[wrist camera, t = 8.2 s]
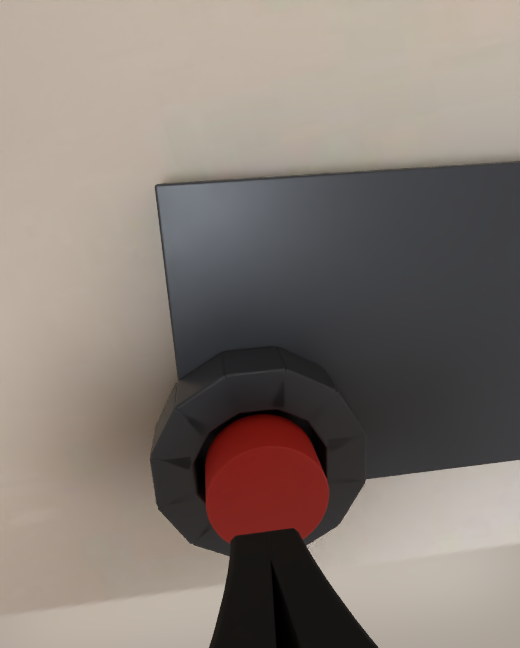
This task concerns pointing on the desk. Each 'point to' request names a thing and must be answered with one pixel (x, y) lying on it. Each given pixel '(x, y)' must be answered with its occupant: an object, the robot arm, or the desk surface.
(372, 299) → the power block
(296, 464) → the power button
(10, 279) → the desk surface
